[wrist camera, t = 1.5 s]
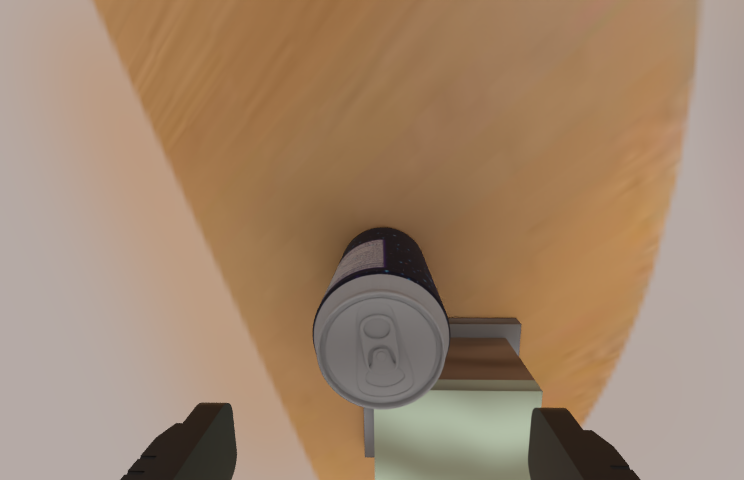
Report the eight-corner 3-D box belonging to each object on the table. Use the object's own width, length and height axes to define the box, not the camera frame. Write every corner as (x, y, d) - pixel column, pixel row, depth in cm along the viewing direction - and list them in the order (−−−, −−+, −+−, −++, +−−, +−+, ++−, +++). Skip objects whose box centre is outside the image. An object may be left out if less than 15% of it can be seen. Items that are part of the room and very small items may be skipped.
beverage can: (349, 307, 26) (319, 426, 14) (336, 231, 25) (292, 292, 13) (427, 297, 26) (463, 411, 14) (418, 219, 24) (448, 272, 13)
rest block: (362, 317, 26) (354, 373, 19) (516, 318, 26) (563, 374, 19) (365, 447, 28) (359, 537, 21) (506, 449, 28) (545, 542, 21)
